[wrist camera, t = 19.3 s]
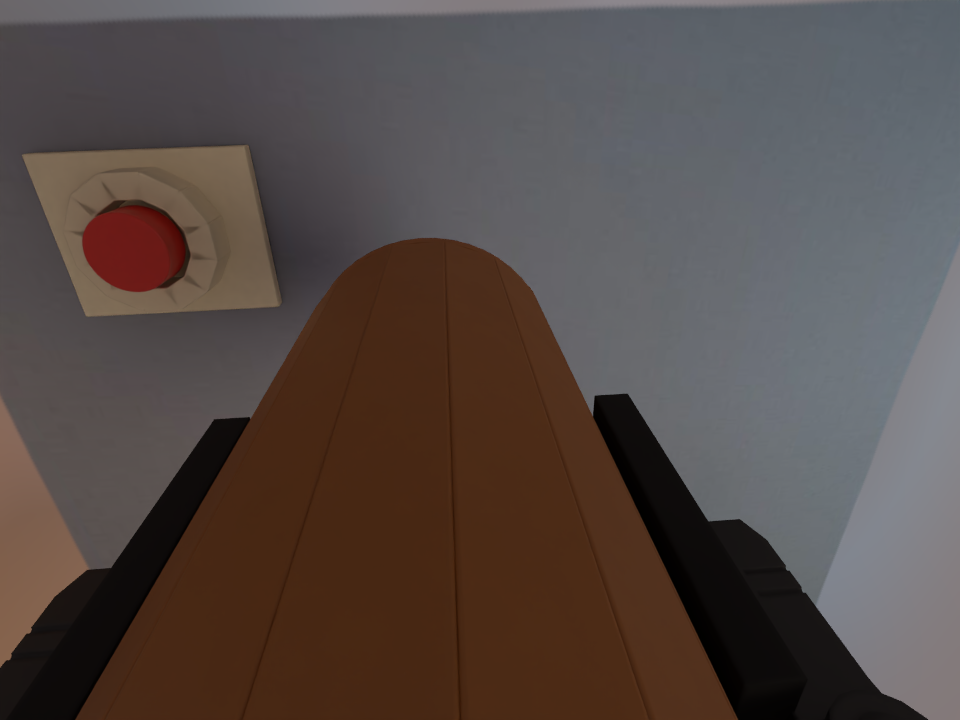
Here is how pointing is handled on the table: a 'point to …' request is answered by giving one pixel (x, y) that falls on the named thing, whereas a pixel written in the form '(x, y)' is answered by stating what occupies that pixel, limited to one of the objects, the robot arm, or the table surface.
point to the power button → (133, 248)
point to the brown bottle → (416, 532)
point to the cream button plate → (185, 202)
